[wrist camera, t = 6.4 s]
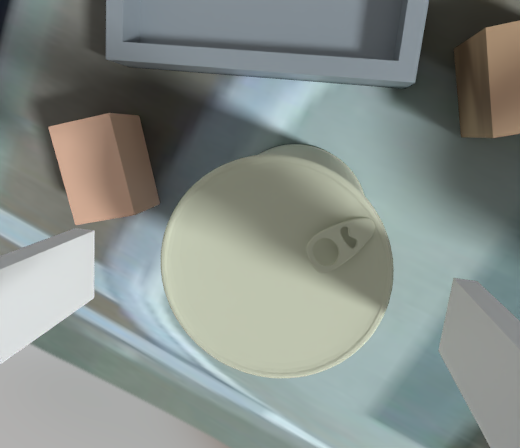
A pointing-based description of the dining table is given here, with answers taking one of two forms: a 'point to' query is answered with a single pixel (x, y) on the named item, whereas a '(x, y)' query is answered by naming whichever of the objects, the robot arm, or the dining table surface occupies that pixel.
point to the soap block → (105, 167)
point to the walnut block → (489, 82)
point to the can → (278, 263)
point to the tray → (272, 38)
